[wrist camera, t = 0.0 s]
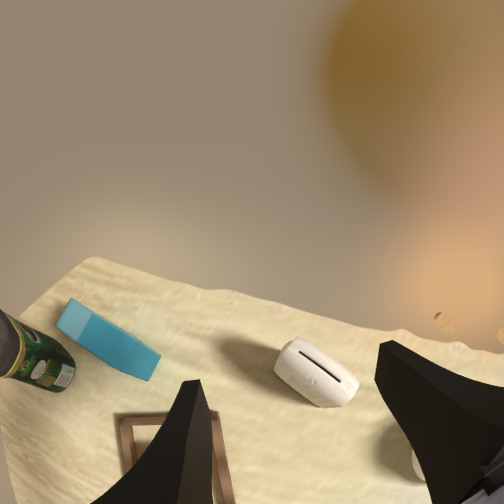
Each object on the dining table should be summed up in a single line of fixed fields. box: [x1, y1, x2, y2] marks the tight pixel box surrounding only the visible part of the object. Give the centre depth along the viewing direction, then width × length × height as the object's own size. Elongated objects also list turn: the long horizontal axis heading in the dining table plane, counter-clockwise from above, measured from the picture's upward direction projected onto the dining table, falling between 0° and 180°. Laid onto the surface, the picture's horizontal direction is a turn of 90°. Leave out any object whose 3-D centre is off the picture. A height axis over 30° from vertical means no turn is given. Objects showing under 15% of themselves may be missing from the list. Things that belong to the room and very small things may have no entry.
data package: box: [56, 298, 161, 381], centre depth 38 cm, size 12×4×12 cm, turn 67°
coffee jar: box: [0, 310, 75, 393], centre depth 33 cm, size 10×8×19 cm
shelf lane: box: [118, 412, 236, 504], centre depth 33 cm, size 16×14×2 cm
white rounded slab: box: [273, 337, 359, 408], centre depth 35 cm, size 10×4×12 cm, turn 49°
